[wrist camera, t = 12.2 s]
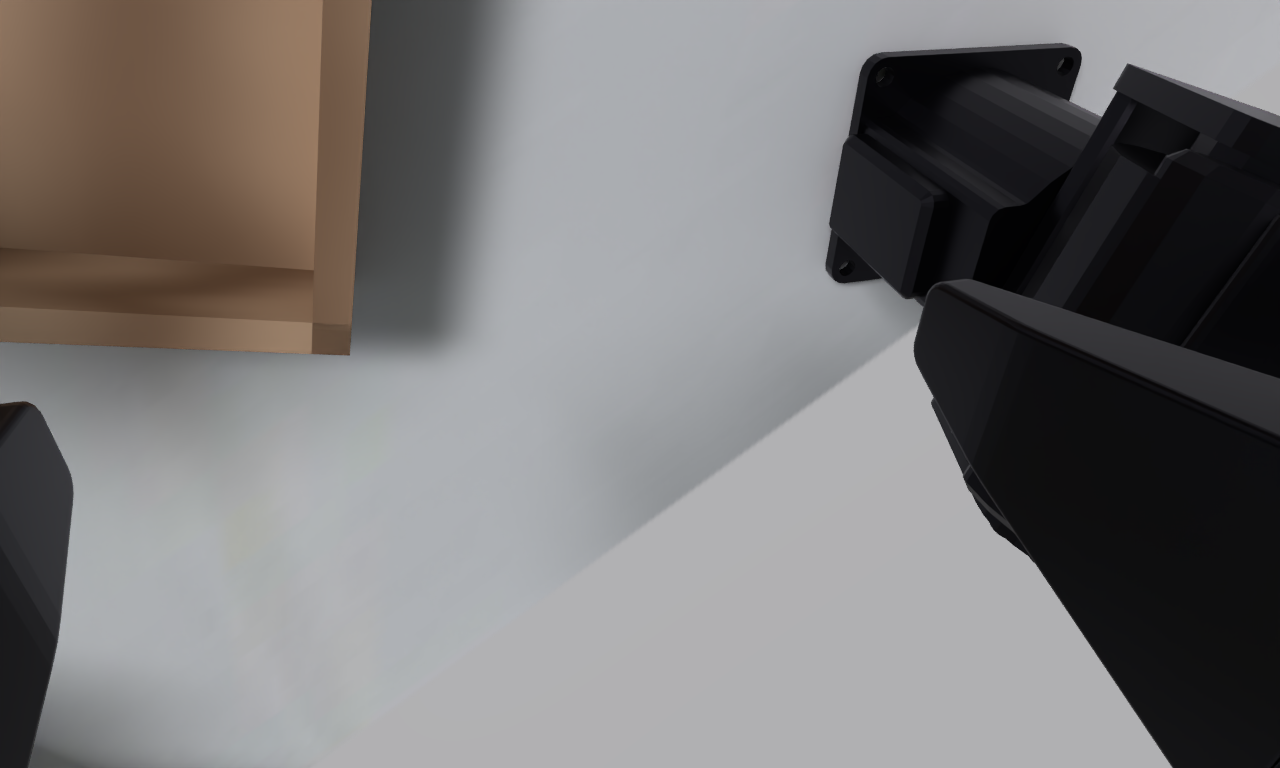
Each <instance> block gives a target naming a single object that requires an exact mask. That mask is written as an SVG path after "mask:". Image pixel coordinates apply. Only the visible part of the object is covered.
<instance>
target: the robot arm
mask: <svg viewBox="0 0 1280 768" xmlns="http://www.w3.org/2000/svg"><path fill="white" fill-rule="evenodd" d="M1063 58H1064V62H1063V64H1062V66H1061V67H1060V68H1059V69H1058V70H1057V66H1058V64H1059V63H1060V61H1061V60H1062V59H1063ZM1081 60H1082V56H1081V52H1080V51H1079V50H1078V49H1077V48H1075V47H1072V46H1070V45H1068V44H1063V43H1055V44H1035V45H1016V46H997V47H978V48H959V49H939V50H920V51H901V52H882V53H878V54H874V55H873V56H871V57H870V58H868V59H867V61H866V62H865V63H864V65H863V66H862V69H861V72H860V76H859V82H858V87H857V93H856V98H855V104H854V109H853V115H852V120H851V126H850V131H849V137H848V138H847V140H846V141H845V143H844V145H843V149H842V155H841V161H840V166H839V172H838V177H837V183H836V189H835V194H834V200H833V206H832V211H831V217H830V222H829V225H830V227H831V229H832V231H831V237H830V242H829V248H828V253H827V259H826V271H827V272H828V274H829V275H830V276H831V277H832V278H833V279H834V280H835V281H837V282H838V283H849V282H857V281H865V280H873V279H881V278H883V279H884V280H885V281H886V282H887V283H888V284H889V285H890V286H891V287H892V288H893V289H894V290H895V291H897V292H898V293H899V294H900V295H901V296H902V297H903V298H905V299H912V298H914V299H915V300H916V301H917V302H918V303H920V304H921V305H922V306H923V307H924V308H923V311H922V315H921V319H920V323H919V326H918V330H917V335H916V338H915V342H914V357H915V361H916V364H917V366H918V368H919V370H920V372H921V374H922V376H923V378H924V380H925V382H926V383H927V385H928V387H929V389H930V391H931V393H932V395H933V397H934V398H933V400H932V402H931V404H932V407H933V409H934V411H935V413H936V416H937V418H938V420H939V422H940V424H941V427H942V429H943V431H944V433H945V435H946V438H947V440H948V442H949V444H950V446H951V449H952V451H953V453H954V455H955V458H956V460H957V462H958V464H959V466H960V468H961V471H962V473H963V478H964V480H965V483H966V485H967V488H968V490H969V491H970V492H971V493H972V495H973V497H974V499H975V501H976V503H977V505H978V507H979V508H980V510H981V511H982V513H983V515H984V516H985V517H986V518H987V520H988V521H989V523H990V525H991V527H992V528H993V530H994V531H995V532H997V533H998V534H999V535H1000V536H1002V537H1004V538H1006V539H1007V540H1008V541H1009V542H1010V543H1012V544H1013V545H1014V546H1015V547H1017V548H1018V549H1019V550H1021V551H1022V552H1024V553H1025V554H1026V555H1028V556H1029V557H1030V559H1031V560H1032V561H1033V562H1034V563H1035V564H1036V565H1037V567H1038V568H1039V570H1040V571H1041V573H1042V574H1043V576H1044V577H1045V579H1046V580H1047V582H1048V583H1049V585H1050V586H1051V588H1052V589H1053V590H1054V592H1055V594H1056V595H1057V597H1058V598H1059V599H1060V601H1061V602H1062V604H1063V605H1064V607H1065V608H1066V610H1067V611H1068V613H1069V614H1070V616H1071V617H1072V619H1073V620H1074V622H1075V623H1076V625H1077V626H1078V628H1079V629H1080V631H1081V632H1082V634H1083V635H1084V637H1085V638H1086V640H1087V641H1088V643H1089V644H1090V646H1091V647H1092V649H1093V650H1094V651H1095V653H1096V655H1097V656H1098V658H1099V659H1100V660H1101V662H1102V664H1103V665H1104V667H1105V668H1106V669H1107V671H1108V672H1109V674H1110V675H1111V677H1112V678H1113V680H1114V681H1115V683H1116V684H1117V686H1118V687H1119V689H1120V690H1121V692H1122V693H1123V695H1124V696H1125V698H1126V699H1127V701H1128V702H1129V704H1130V705H1131V707H1132V708H1133V710H1134V711H1135V713H1136V714H1137V715H1138V717H1139V719H1140V720H1141V722H1142V723H1143V725H1144V726H1145V728H1146V729H1147V731H1148V732H1149V734H1150V735H1151V736H1152V738H1153V739H1154V741H1155V742H1156V744H1157V745H1158V747H1159V748H1160V750H1161V751H1162V753H1163V754H1164V756H1165V757H1166V759H1167V760H1168V762H1169V763H1170V765H1171V766H1172V768H1280V116H1278V115H1276V114H1273V113H1270V112H1268V111H1265V110H1262V109H1259V108H1256V107H1253V106H1250V105H1247V104H1244V103H1241V102H1239V101H1236V100H1233V99H1230V98H1227V97H1224V96H1221V95H1218V94H1216V93H1213V92H1210V91H1207V90H1204V89H1201V88H1198V87H1195V86H1192V85H1189V84H1186V83H1184V82H1181V81H1178V80H1175V79H1172V78H1169V77H1166V76H1163V75H1160V74H1157V73H1154V72H1152V71H1149V70H1146V69H1143V68H1140V67H1137V66H1134V65H1131V64H1127V65H1126V67H1125V69H1124V70H1123V72H1122V74H1121V76H1120V77H1119V79H1118V81H1117V83H1116V84H1115V86H1114V88H1113V89H1114V90H1116V91H1117V92H1116V94H1115V96H1114V98H1113V99H1112V101H1111V103H1110V104H1109V106H1108V108H1107V110H1106V111H1105V113H1104V115H1103V116H1102V117H1101V116H1098V115H1096V114H1094V113H1092V112H1090V111H1088V110H1086V109H1084V108H1082V107H1080V106H1078V105H1076V104H1073V103H1071V102H1069V99H1070V96H1071V93H1072V90H1073V87H1074V84H1075V81H1076V78H1077V75H1078V72H1079V69H1080V66H1081ZM885 67H886V74H885V76H884V78H883V79H882V80H881V81H879V82H876V76H877V74H878V72H879V71H880V70H881V69H882V68H885ZM848 260H849V261H848ZM845 261H848V264H847V265H846V266H845V267H844V268H842V269H840V270H839V268H840V266H841V265H842V264H843V263H844V262H845ZM73 494H74V493H73V482H72V477H71V474H70V471H69V469H68V466H67V464H66V462H65V460H64V458H63V456H62V454H61V452H60V450H59V448H58V446H57V444H56V442H55V440H54V438H53V436H52V434H51V432H50V429H49V427H48V425H47V423H46V421H45V419H44V417H43V415H42V414H41V412H40V411H39V410H38V409H37V408H36V406H35V405H33V404H31V403H28V402H24V401H22V402H13V403H5V404H0V768H28V765H29V761H30V757H31V753H32V749H33V745H34V741H35V737H36V733H37V729H38V724H39V720H40V716H41V712H42V708H43V704H44V700H45V696H46V692H47V688H48V683H49V679H50V675H51V671H52V667H53V662H54V657H55V653H56V648H57V643H58V636H59V629H60V622H61V613H62V603H63V594H64V584H65V574H66V564H67V555H68V545H69V535H70V525H71V516H72V506H73Z"/></svg>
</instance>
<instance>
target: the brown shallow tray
mask: <svg viewBox="0 0 1280 768" xmlns="http://www.w3.org/2000/svg"><path fill="white" fill-rule="evenodd" d="M371 4H372V0H0V342H19V343H45V344H70V345H96V346H121V347H147V348H173V349H198V350H224V351H249V352H275V353H301V354H326V355H350V342H351V326H352V310H353V294H354V278H355V262H356V246H357V230H358V214H359V198H360V181H361V165H362V149H363V133H364V117H365V101H366V85H367V69H368V53H369V37H370V20H371Z"/></svg>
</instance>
